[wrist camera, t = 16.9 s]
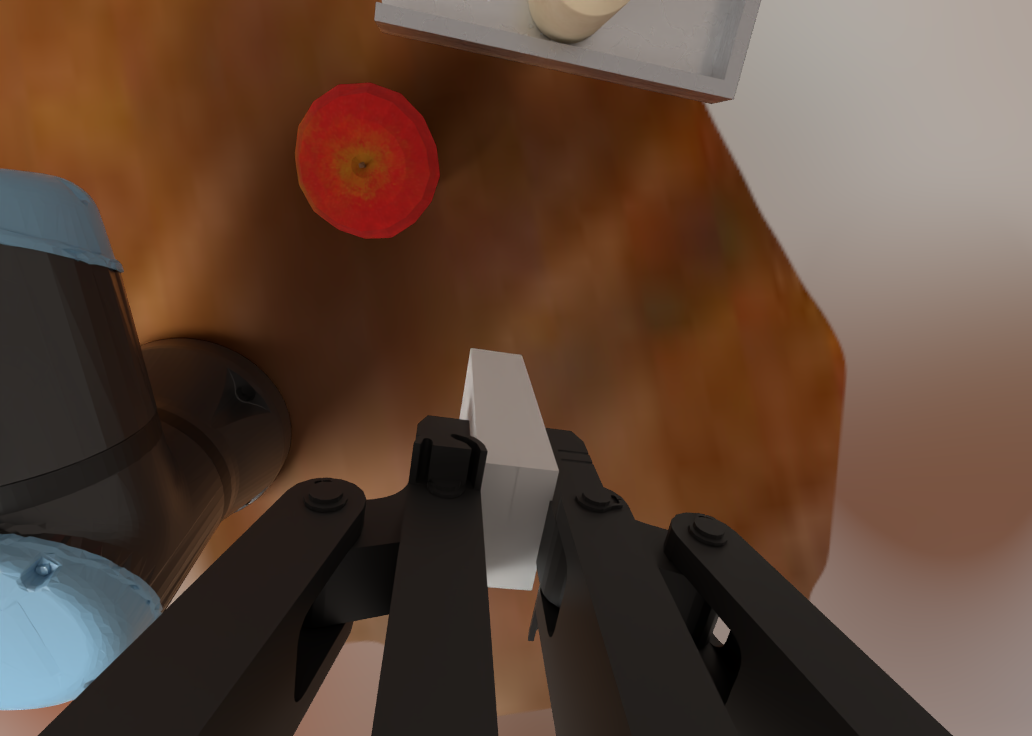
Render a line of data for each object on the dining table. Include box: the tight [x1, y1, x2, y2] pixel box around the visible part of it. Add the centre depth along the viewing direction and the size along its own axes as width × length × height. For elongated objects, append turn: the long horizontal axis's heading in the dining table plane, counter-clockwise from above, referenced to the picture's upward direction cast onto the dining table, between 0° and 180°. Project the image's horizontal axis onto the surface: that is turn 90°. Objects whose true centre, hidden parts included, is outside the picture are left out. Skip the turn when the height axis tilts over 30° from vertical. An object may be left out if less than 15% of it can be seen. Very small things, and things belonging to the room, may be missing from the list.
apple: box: [295, 83, 440, 239], centre depth 36 cm, size 9×8×12 cm
